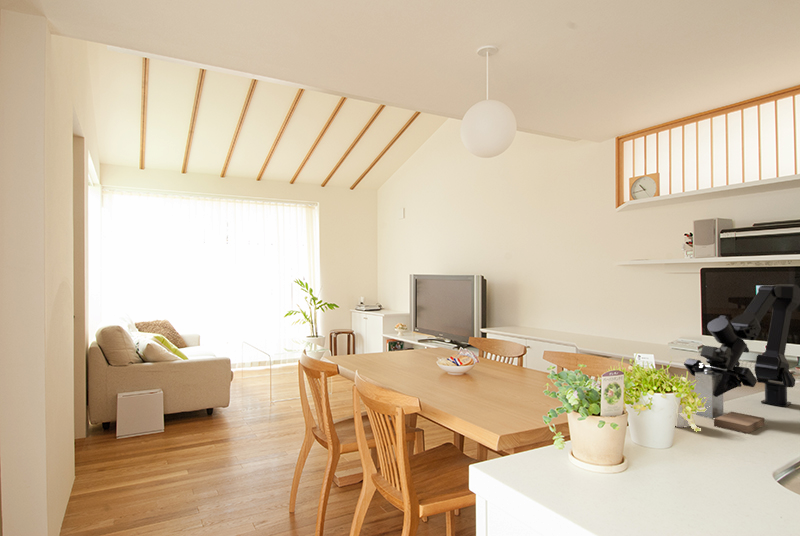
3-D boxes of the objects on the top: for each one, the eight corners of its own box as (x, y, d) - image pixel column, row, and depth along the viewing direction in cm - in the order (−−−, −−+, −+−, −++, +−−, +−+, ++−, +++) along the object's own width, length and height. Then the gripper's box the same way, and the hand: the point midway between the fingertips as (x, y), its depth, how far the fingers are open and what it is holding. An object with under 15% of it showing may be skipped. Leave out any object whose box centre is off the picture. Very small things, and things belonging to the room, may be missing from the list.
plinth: (731, 418, 140) (731, 411, 140) (764, 425, 134) (764, 417, 134) (714, 426, 133) (713, 418, 133) (748, 433, 127) (747, 425, 127)
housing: (706, 412, 147) (705, 367, 147) (723, 416, 142) (722, 370, 142) (695, 414, 145) (695, 369, 145) (712, 419, 140) (711, 372, 140)
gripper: (687, 332, 154) (663, 370, 149) (749, 339, 137) (725, 382, 132) (703, 356, 157) (681, 393, 152) (767, 365, 140) (744, 408, 135)
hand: (706, 393), depth 143 cm, fingers closed on housing, 5 cm apart
